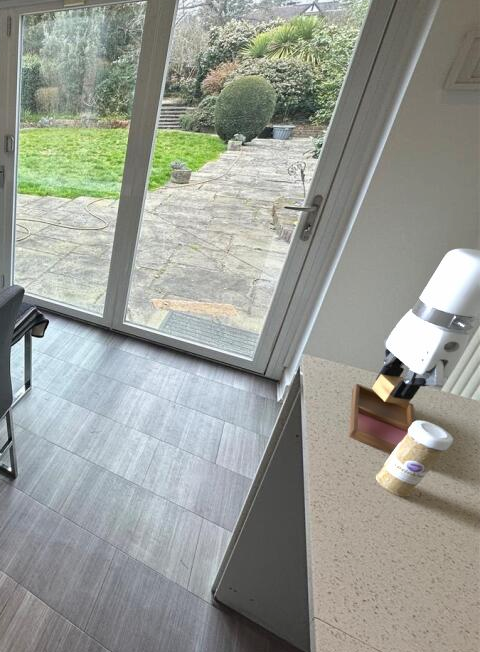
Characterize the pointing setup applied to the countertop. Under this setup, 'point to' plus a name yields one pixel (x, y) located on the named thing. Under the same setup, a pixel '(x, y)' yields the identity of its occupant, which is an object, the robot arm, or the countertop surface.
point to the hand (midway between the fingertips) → (393, 388)
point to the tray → (378, 420)
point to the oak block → (388, 388)
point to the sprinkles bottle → (413, 457)
